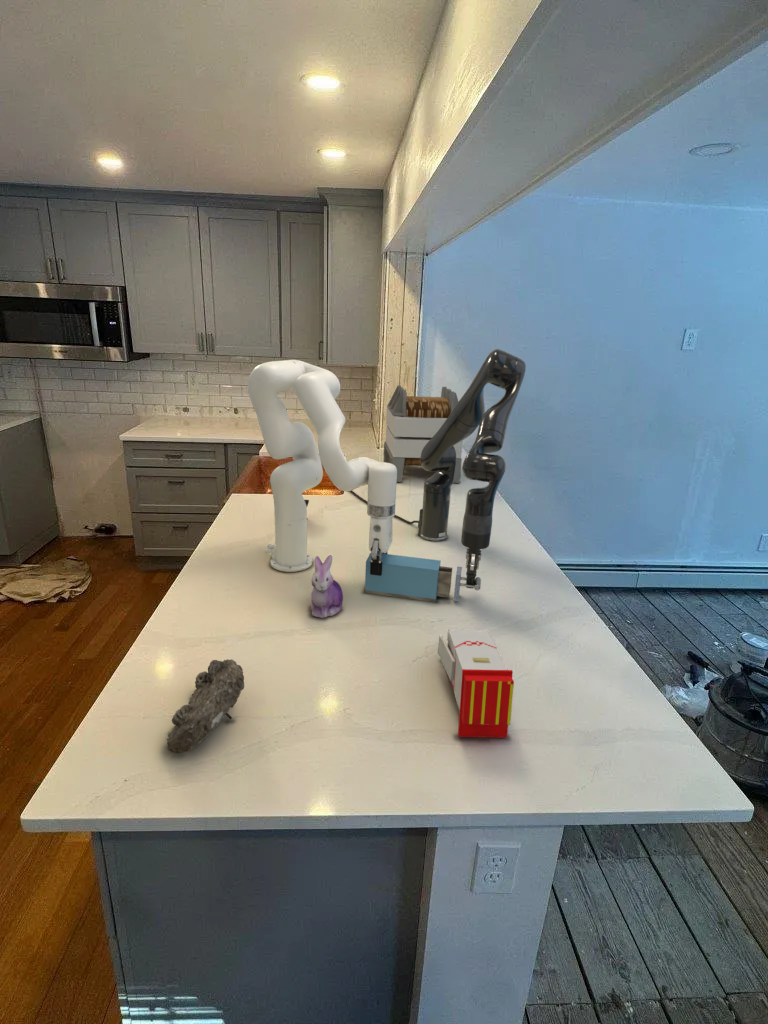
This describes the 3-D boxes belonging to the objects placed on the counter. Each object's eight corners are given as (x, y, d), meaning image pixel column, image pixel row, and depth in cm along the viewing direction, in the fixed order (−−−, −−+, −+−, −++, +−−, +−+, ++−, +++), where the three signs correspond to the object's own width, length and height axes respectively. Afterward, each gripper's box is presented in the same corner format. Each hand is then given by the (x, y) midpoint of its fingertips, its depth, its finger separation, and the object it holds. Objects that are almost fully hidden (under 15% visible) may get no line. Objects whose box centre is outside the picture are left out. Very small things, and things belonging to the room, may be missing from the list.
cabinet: (438, 591, 160) (440, 560, 157) (435, 602, 154) (438, 570, 151) (369, 582, 164) (370, 551, 160) (364, 592, 158) (365, 561, 154)
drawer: (479, 594, 158) (482, 569, 155) (478, 603, 153) (481, 577, 150) (393, 583, 162) (395, 558, 159) (390, 592, 157) (391, 566, 154)
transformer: (382, 463, 289) (386, 382, 275) (445, 464, 293) (451, 384, 279) (390, 482, 257) (394, 392, 243) (460, 483, 261) (468, 394, 247)
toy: (488, 613, 130) (523, 677, 101) (484, 667, 133) (517, 744, 104) (435, 612, 130) (455, 676, 101) (432, 666, 133) (451, 743, 103)
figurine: (316, 622, 141) (316, 568, 136) (302, 604, 150) (302, 552, 145) (351, 615, 146) (352, 562, 140) (335, 597, 154) (336, 546, 149)
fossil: (192, 660, 117) (244, 628, 112) (224, 691, 120) (276, 661, 115) (142, 746, 98) (202, 712, 93) (182, 779, 101) (242, 748, 96)
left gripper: (388, 521, 143) (385, 584, 149) (400, 500, 159) (397, 558, 165) (360, 518, 145) (358, 581, 151) (374, 497, 161) (372, 555, 167)
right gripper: (490, 539, 142) (482, 600, 148) (491, 521, 154) (484, 578, 160) (460, 535, 143) (454, 596, 149) (464, 517, 155) (457, 574, 161)
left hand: (378, 568), depth 158 cm, fingers closed on cabinet, 6 cm apart
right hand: (469, 586), depth 155 cm, fingers closed
